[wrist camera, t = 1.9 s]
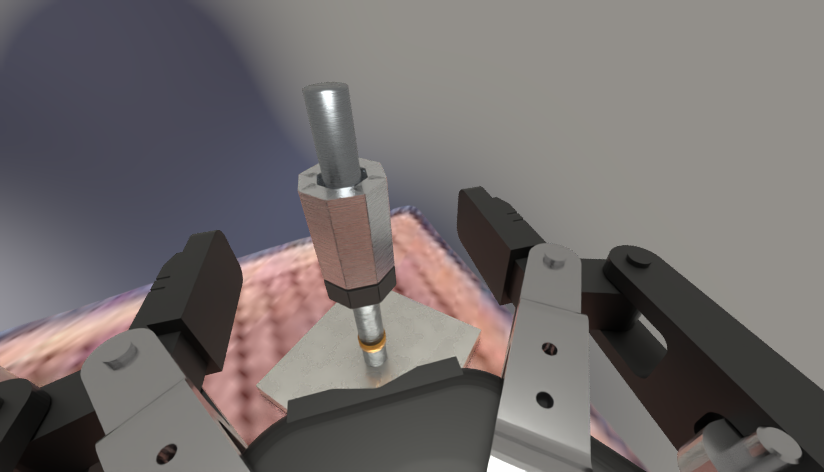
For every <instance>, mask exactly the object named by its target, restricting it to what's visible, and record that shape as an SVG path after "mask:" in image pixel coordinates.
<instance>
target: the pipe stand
mask: <svg viewBox="0 0 824 472" xmlns="http://www.w3.org/2000/svg"><path fill="white" fill-rule="evenodd" d="M302 91H303V95H304V99H305V104H306V109H307V113H308V117H309V122H310V126H311V130H312V134H313V139H314V143H315V148H316V152H317V156H318V161H319V165H320V170H321V174H322V178H323V183H324V187H326V188H329V189H332V190H334V189H341V188H347V187H354V186H356V185H358V184H359V183H361V182H362V178H361V171H360V164H359V157H358V151H357V143H356V137H355V129H354V123H353V116H352V109H351V102H350V95H349V89H348V85H347V84H345V83H339V82H326V83H318V84H313V85H309V86H306V87H304V88H303V89H302ZM480 334H481V330H480V329H478V328H476V327H473V326H471V325H469V324H467V323H464V322H462V321H460V320H457V319H455V318H453V317H451V316H448V315H446V314H444V313H441V312H439V311H437V310H435V309H432V308H430V307H428V306H425V305H423V304H421V303H419V302H416V301H414V300H412V299H410V298H407V297H405V296H403V295H400V294H398V293H396V292H394V291H390V293H389V294H388V295H387V296H386V297H385V299H384V300H383V301H382V302H381V303H379V304H375V305H370V306H366V307H361V308H356V309H349V308H347V307H345V306H343V305H341V304H339V303H336V304H335V305H334V306H333V307H332V308H331V309H330V310H329V311H328V312H327V313H326V314H325V315H324V316H323V317H322V318H321V319H320V320H319V321H318V322H317V323H316V324H315V325H314V326H313V327H312V328H311V329H310V331H309V332H308V333H307V334H306V335H305V336H304V337H303V338H302V339H301V340H300V341H299V342H298V343H297V344H296V345H295V346H294V347H293V348H292V349H291V350H290V351H289V352H288V353H287V354H286V355H285V356H284V357H283V358H282V359H281V360H280V361H279V362H278V363H277V364H276V365H275V366H274V367H273V369H272V370H271V371H270V372H269V373H268V374H267V375H266V376H265V377H264V378H263V379H262V380H261V381H260V382H259V383H258V384H257V385H256V387H257V388H258V390H259V391H260V393H261V394H262V395H263V396H264V397H265V398H267V399H268V400H269V401H271V402H272V403H273V404H275V405H276V406H277V407H279V408H280V409H281V410H283V411H284V412H285V413H287V405H288V400H291V399H295V398H299V397H303V396H307V395H310V394H314V393H318V392H322V391H326V390H329V389H360V388H378V387H381V386H383V385H385V384H386V383H388V382H390V381H392V380H394V379H395V378H397V377H399V376H401V375H403V374H404V373H406V372H408V371H410V370H412V369H413V368H415V367H417V366H420V365H424V364H428V363H432V362H436V361H439V360H443V359H447V358H451V357H454V356H456V357H457V359H458V362H459V364H460V367H461V368H466V367H467V365H468V363H469V361H470V359H471V356H472V354H473V352H474V350H475V348H476V346H477V344H478V342H479V340H480Z"/></svg>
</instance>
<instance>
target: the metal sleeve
mask: <svg viewBox="0 0 824 472" xmlns="http://www.w3.org/2000/svg"><path fill="white" fill-rule="evenodd" d="M359 164H360V171H361V178H362V182H361V183H359V184H358V185H356V186H354V187H347V188H341V189H334V190H332V189H329V188H326V187H324V183H323V178H322V174H321V170H320V165H319V164H317V165H315V166H313V167H311V168H309V169H308V170H306V171H304V172H302V173H301V174H299V181H298V193H299V196H300V199H301V203H302V207H303V210H304V214H305V217H306V220H307V224H308V227H309V231H310V234H311V238H312V241H313V244H314V248H315V251H316V255H317V258H318V262H319V265H320V268H321V272H322V275H323V278H324V279H325V280H327V281H329V282H331V283H333V284H335V285H338V286H340V287H342V288H344V289H347V290H348V289H353V288H358V287H363V286H368V285H373V284H377V283H379V282H380V280H381V279H382V278H383V277H384V276H385V275H386V274H387V273H388V272H389V270H390V269H391V268H392V267H393V266H394V253H393V242H392V231H391V220H390V209H389V198H388V187H387V177H386V175H385V172H384V170H383V168H382V165H381V163H378V162H374V161H370V160H366V159H361V158H359Z"/></svg>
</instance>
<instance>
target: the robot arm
mask: <svg viewBox="0 0 824 472" xmlns="http://www.w3.org/2000/svg"><path fill="white" fill-rule="evenodd" d="M458 197H459V198H458V214H457V231H458V236H459V239H460V241H461V243H462V244H463V246H464V247H465V249H466V251H467V252H468V254H469V256H470V257H471V259H472V261H473V262H474V264H475V265H476V267H477V269H478V270H479V272H480V274H481V275H482V277H483V278H484V280H485V282H486V283H487V285H488V287H489V288H490V290H491V292H492V293H493V295H494V297H495V298H496V300H497V301H498V303H499V305H504V304H508V303H513V305H514V306H515V313H514V317H513V322H512V327H511V331H510V336H509V341H508V346H507V351H506V355H505V360H504V365H503V369H502V373H501V378H500V377H498V376H496V375H494V374H491V373H488V372H485V371H481V370H477V369H470V368H461V367H460V364H459V362H458V359H457V357H456V356H454V357H451V358H447V359H443V360H439V361H436V362H432V363H428V364H424V365H420V366H417V367H415V368H413V369H412V370H410V371H408V372H406V373H404V374H403V375H401V376H399V377H397V378H395V379H394V380H392V381H390V382H388V383H386V384H385V385H383V386H381V387H378V388H360V389H329V390H326V391H322V392H318V393H314V394H310V395H307V396H303V397H299V398H295V399H291V400H288V405H287V416H285V417H283V418H281V419H280V420H278V421H277V422H275V423H274V424H272V425H271V426H270V427H269V428H267V429H266V430H265V431H264V432H262V433H261V434H260V435H259V436H258V437H257V438H256V439H255V440H254V441H253V442H252V443H251V444H250V445H249V446H248V445H247V444H246V443H245V442H244V440H243V439H242V438H241V437H240V436H239V434H238V433H237V432H236V430H235V429H234V428H233V426H232V425H231V424H230V422H229V421H228V420H227V418H226V417H225V416H224V414H223V413H222V412H221V410H220V409H219V408H218V406H217V405H216V404H215V402H214V401H213V400H212V398H211V397H210V396H209V394H208V393H207V392H206V390H205V389H204V388H203V387H202V384H203V381H204V377H205V375H209V374H213V373H217V372H221V371H222V369H223V365H224V361H225V357H226V352H227V348H228V344H229V339H230V335H231V331H232V326H233V322H234V318H235V314H236V309H237V305H238V301H239V296H240V292H241V288H242V283H243V276H242V270H241V267H240V265H239V263H238V261H237V259H236V257H235V255H234V253H233V251H232V249H231V248H230V245H229V243H228V241H227V239H226V237H225V235H224V234H223V233H222V232H221V231H220V230H215V231H209V232H203V233H197V234H192V235H191V236H190V238H189V240H188V242H187V244H186V246H185V248H184V250H183V252H180V253H176V254H175V255H174V256H173V257H172V258H171V259H170V260H169V261H168V262H167V263H166V264H165V265H164V266H163V267H162V269H161V271H160V273H159V275H158V276H157V278H156V279H157V281H155V282H154V284H153V285H152V287H151V289H150V290H151V292H149V293H148V295H147V296H146V298H145V300H144V302H143V304H142V306H141V308H140V309H139V311H138V313H137V315H136V317H135V319H134V321H133V322H132V324H131V326H130V328H129V330H128V331H125V332H122V333H120V334H118V335H116V336H114V337H112V338H110V339H109V340H107V341H105V342H104V343H103V344H101V345H100V346H99V347H98V348H96V349H95V350H94V351H93V352H92V353H91V354H90V355H89V357H88V358H87V359H86V361H85V362H84V364H83V366H82V369H81V370H80V371H77V372H75V373H73V374H71V375H68V376H66V377H64V378H61V379H59V380H57V381H54V382H52V383H50V384H48V385H45V386H43V387H41V388H39V387H38V386H36V385H35V384H33V383H31V382H30V381H28V380H26V379H22V378H18V377H17V376H15V375H14V374H12V373H11V372H9V371H7V370H6V369H4V368H3V367H1V366H0V472H646V471H644V470H643V469H641V468H640V467H638V466H637V465H635V464H634V463H632V462H631V461H629V460H628V459H626V458H625V457H623V456H621V455H620V454H618V453H617V452H615V451H614V450H612V449H611V448H609V447H608V446H606V445H605V444H603V443H602V442H600V441H599V440H597V439H595V438H594V437H592V436H591V435H590V390H589V389H590V384H589V383H590V381H589V333H590V335H591V336H592V337H593V339H594V340H595V341H596V343H597V344H598V345H599V347H600V348H601V349H602V351H603V352H604V353H605V355H606V356H607V357H608V359H609V360H610V361H611V363H612V364H613V365H614V367H615V368H616V369H617V371H618V372H619V373H620V375H621V376H622V377H623V379H624V380H625V381H626V383H627V384H628V385H629V387H630V388H631V389H632V391H633V392H634V393H635V395H636V396H637V397H638V399H639V400H640V401H641V403H642V404H643V405H644V407H645V408H646V409H647V411H648V412H649V414H650V415H651V416H652V418H653V419H654V420H655V421H656V423H657V424H658V426H659V427H660V428H661V430H662V431H663V432H664V434H665V435H666V436H667V437H668V439H669V440H670V442H671V443H672V444H673V446H674V447H675V448H676V450H677V451H678V454H677V455H678V456H677V461H678V467H679V470H680V472H824V391H823V390H822V389H821V388H819V387H818V386H817V385H816V384H815V383H814V382H812V381H811V380H810V379H808V378H807V377H806V376H805V375H804V374H802V373H801V372H800V371H799V370H797V369H796V368H795V367H794V366H793V365H791V364H790V363H789V362H788V361H786V360H785V359H784V358H783V357H782V356H780V355H779V354H778V353H777V352H775V351H774V350H773V349H772V348H770V347H769V346H768V345H767V344H765V343H764V342H763V341H762V340H761V339H759V338H758V337H757V336H756V335H754V334H753V333H752V332H751V331H750V330H748V329H747V328H746V327H745V326H744V325H742V324H741V323H740V322H739V321H737V320H736V319H735V318H733V317H732V316H731V315H730V314H729V313H728V312H726V311H725V310H724V309H723V308H721V307H720V306H719V305H718V304H716V303H715V302H714V301H713V300H712V299H710V298H709V297H708V296H707V295H705V294H704V293H703V292H702V291H700V290H699V289H698V288H697V287H696V286H694V285H693V284H692V283H691V282H689V281H688V280H687V279H686V278H685V277H683V276H682V275H681V274H679V273H678V272H677V271H676V270H675V269H673V268H672V267H671V266H670V265H669V264H667V263H666V262H665V261H664V260H662V259H661V258H660V257H659V256H657V255H656V254H654V253H652V252H650V251H648V250H646V249H643V248H640V247H636V246H628V245H622V246H617V247H615V248H613V249H612V250H611V251H610V253H609V255H608V257H607V259H606V260H605V259H580V258H579V257H578V255H577V254H576V253H574V252H573V251H572V250H570V249H569V248H567V247H564V246H562V245H558V244H553V243H546V242H545V241H544V240H543V239H542V238H541V237H540V236H539V235H538V234H537V233H536V231H534V229H533V228H532V227H531V226H530V225H529V224H528V223H527V222H526V221H525V220H523V218H522V217H521V216H520V215H519V214H517V212H516V211H515V209H514V208H512V206H511V205H510V204H509V203H507V202H505V201H503V200H501V199H499V198H497V197H495V198H492V197H491V196H490V195H489V194H488V193H487V192H486V190H484V188H483V187H481V186H479V187H473V188H468V189H462V190H460V192H459V196H458ZM641 314H643V315H644V316H645V317H646V318H647V320H649V322H650V323H651V324H652V325H653V326H654V327H655V328H656V329H657V330H658V331H659V332H660V333H661V334H662V335H663V337H664V339H665V341H666V343H667V350H666V349H665V348H664V347H663V345H662V344H661V343H660V342H659V341H658V340H657V339H656V338H655V337H654V336H653V335H652V334H651V333H650V332H649V330H648V329H647V328H646V327H645V326H644V325H643V324H642V323H641V322H640V321H639V320H638V319H639V317H640V316H641Z"/></svg>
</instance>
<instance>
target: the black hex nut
mask: <svg viewBox="0 0 824 472" xmlns="http://www.w3.org/2000/svg"><path fill="white" fill-rule="evenodd" d="M324 282H325V286H326V289H327V293H328V296H329V298H330V299H331V300H333V301H335V302H337V303H339V304H341V305H343V306H345V307H347V308H349V309H356V308H361V307H366V306H370V305H375V304H379V303H381V302H382V301H383V300H384V299H385V297H386V296H387V295H388V294H389V293H390V291H391V290H392V289H393V288H394V287H395V285H396V275H395V266H393V267H392V268H391V269H390V270H389V272H388V273H387V274H386V275H385V276H384V277H383V278H382V279H381V280H380V282H379V283H377V284H373V285H368V286H363V287H358V288H353V289H348V290H347V289H344V288H342V287H340V286H338V285H335V284H333V283H331V282H329V281H327V280H325V279H324Z"/></svg>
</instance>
